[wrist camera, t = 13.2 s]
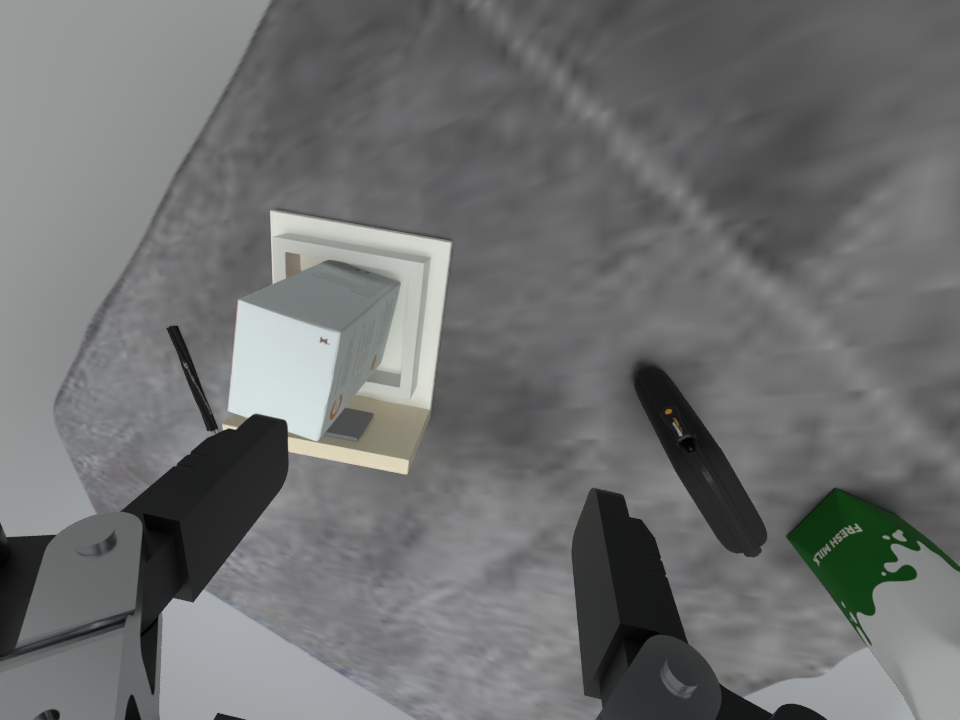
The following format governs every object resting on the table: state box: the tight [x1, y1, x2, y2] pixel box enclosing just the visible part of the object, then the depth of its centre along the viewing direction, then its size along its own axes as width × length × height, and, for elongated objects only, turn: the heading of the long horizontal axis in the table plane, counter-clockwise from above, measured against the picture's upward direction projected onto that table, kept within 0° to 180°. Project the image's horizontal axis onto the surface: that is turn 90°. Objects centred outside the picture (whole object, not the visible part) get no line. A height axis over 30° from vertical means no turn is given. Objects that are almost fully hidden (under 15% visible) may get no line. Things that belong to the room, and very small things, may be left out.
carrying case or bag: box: [634, 367, 767, 557], centre depth 33 cm, size 11×3×15 cm, turn 35°
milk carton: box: [787, 488, 960, 720], centre depth 34 cm, size 9×9×20 cm
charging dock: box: [223, 210, 453, 474], centre depth 35 cm, size 17×15×9 cm
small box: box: [227, 260, 401, 441], centre depth 32 cm, size 8×6×13 cm
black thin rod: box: [167, 326, 218, 436], centre depth 44 cm, size 12×1×1 cm, turn 6°
